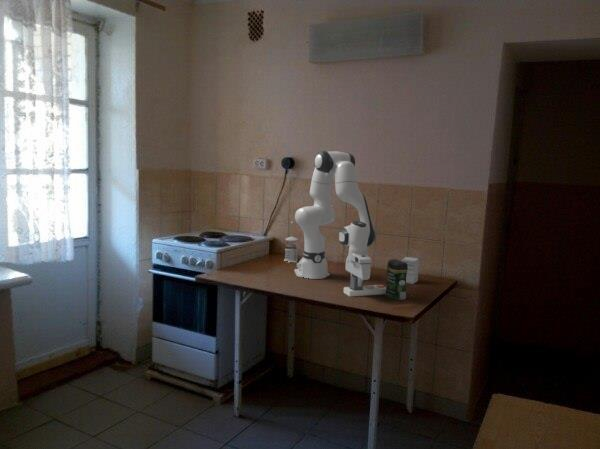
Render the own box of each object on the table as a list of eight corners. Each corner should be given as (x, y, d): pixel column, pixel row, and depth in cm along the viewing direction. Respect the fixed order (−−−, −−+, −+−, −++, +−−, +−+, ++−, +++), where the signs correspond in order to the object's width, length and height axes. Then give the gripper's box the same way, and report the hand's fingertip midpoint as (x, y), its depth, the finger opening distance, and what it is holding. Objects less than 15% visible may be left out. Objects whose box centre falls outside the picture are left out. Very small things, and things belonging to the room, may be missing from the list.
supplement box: (404, 279, 268) (406, 256, 266) (417, 281, 264) (419, 258, 262) (400, 281, 262) (401, 258, 260) (413, 284, 258) (415, 260, 256)
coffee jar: (382, 296, 233) (384, 258, 230) (396, 295, 236) (398, 257, 234) (394, 302, 224) (396, 263, 222) (408, 300, 228) (410, 261, 225)
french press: (292, 258, 312) (293, 219, 309) (304, 261, 304) (305, 222, 300) (280, 260, 306) (281, 220, 303) (291, 263, 297) (292, 223, 294)
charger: (349, 292, 234) (350, 276, 233) (358, 292, 236) (359, 275, 235) (353, 295, 230) (354, 278, 229) (362, 294, 232) (363, 278, 230)
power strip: (343, 294, 235) (343, 285, 234) (380, 291, 241) (380, 283, 241) (349, 298, 228) (349, 289, 228) (387, 295, 235) (387, 287, 234)
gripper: (342, 251, 239) (341, 279, 241) (361, 260, 220) (359, 290, 222) (354, 251, 241) (353, 278, 243) (373, 260, 222) (372, 289, 224)
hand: (356, 284), depth 232 cm, fingers closed on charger, 4 cm apart
